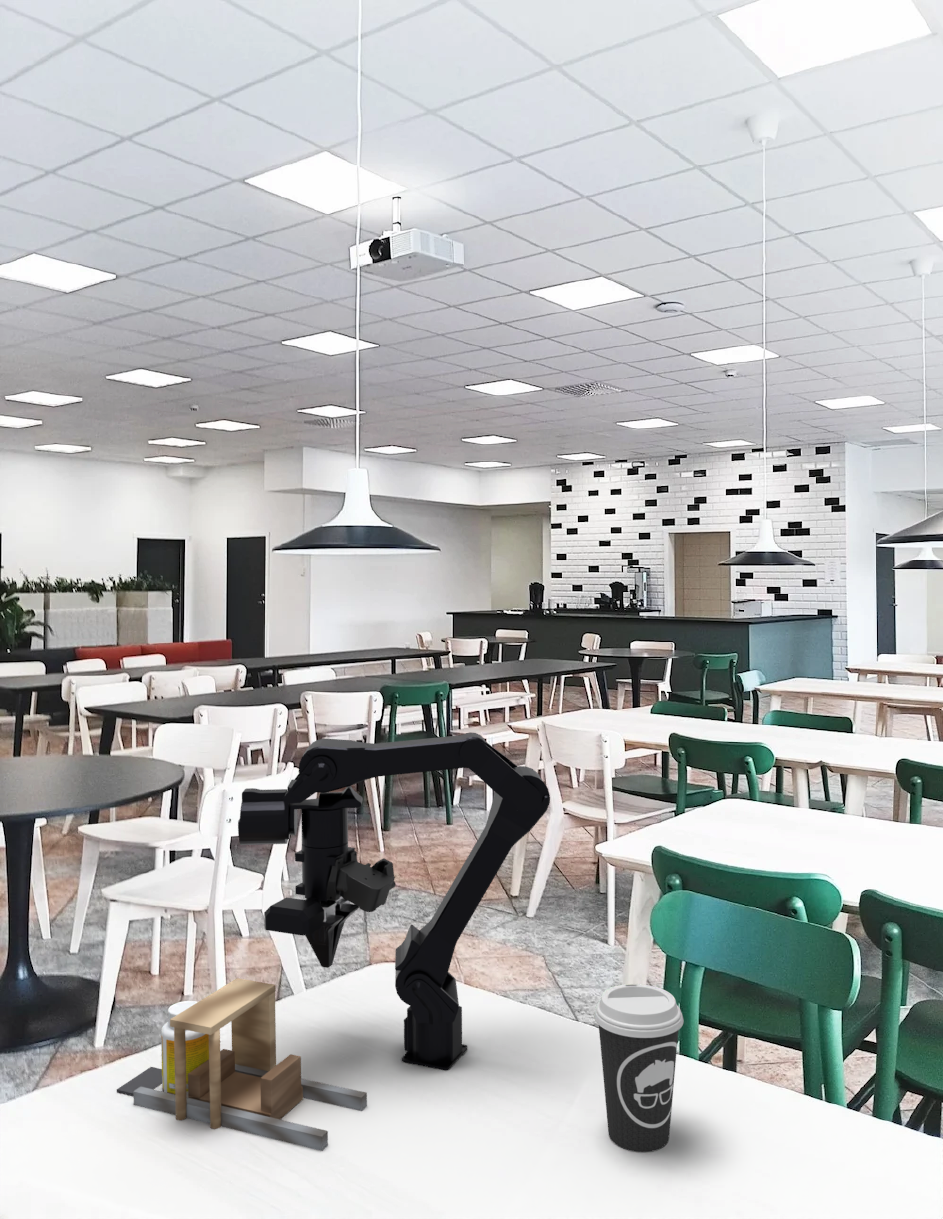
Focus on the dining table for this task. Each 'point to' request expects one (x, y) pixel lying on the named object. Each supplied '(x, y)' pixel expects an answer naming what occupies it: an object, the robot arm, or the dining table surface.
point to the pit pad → (143, 1081)
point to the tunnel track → (241, 1065)
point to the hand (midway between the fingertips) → (326, 966)
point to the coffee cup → (638, 1063)
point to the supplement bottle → (194, 1049)
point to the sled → (251, 1086)
